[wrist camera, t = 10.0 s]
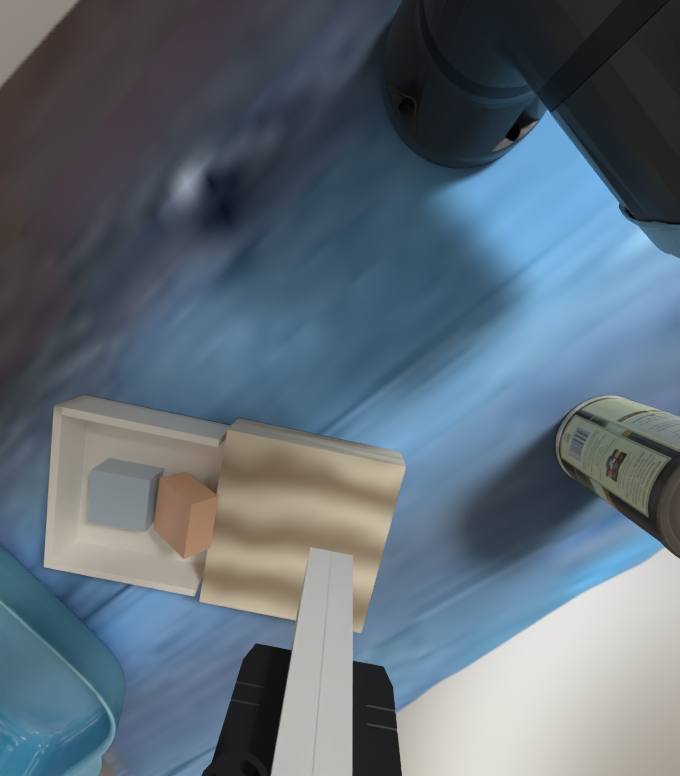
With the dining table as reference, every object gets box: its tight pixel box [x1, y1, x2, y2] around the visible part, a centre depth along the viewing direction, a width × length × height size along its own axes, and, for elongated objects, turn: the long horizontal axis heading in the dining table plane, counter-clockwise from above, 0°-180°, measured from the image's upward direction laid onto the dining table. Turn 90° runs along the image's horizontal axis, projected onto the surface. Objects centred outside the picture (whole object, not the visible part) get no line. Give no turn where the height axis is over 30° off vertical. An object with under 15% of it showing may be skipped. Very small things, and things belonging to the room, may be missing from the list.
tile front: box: [153, 472, 219, 559], centre depth 40 cm, size 6×6×3 cm
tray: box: [44, 395, 231, 596], centre depth 41 cm, size 18×16×4 cm
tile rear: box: [88, 458, 164, 532], centre depth 41 cm, size 6×6×3 cm
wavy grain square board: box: [199, 418, 406, 633], centre depth 42 cm, size 20×18×4 cm
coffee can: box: [555, 396, 680, 558], centre depth 35 cm, size 10×10×14 cm
